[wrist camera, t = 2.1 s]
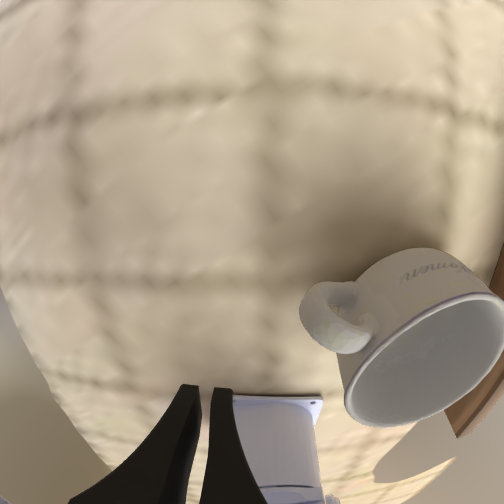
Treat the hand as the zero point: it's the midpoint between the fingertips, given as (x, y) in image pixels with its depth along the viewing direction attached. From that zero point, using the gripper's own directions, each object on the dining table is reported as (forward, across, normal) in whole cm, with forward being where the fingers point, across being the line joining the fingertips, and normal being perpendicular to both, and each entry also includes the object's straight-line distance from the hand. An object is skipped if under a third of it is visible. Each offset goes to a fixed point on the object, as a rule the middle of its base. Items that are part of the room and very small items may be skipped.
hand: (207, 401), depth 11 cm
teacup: (+10, -10, 0) cm, 14 cm away
